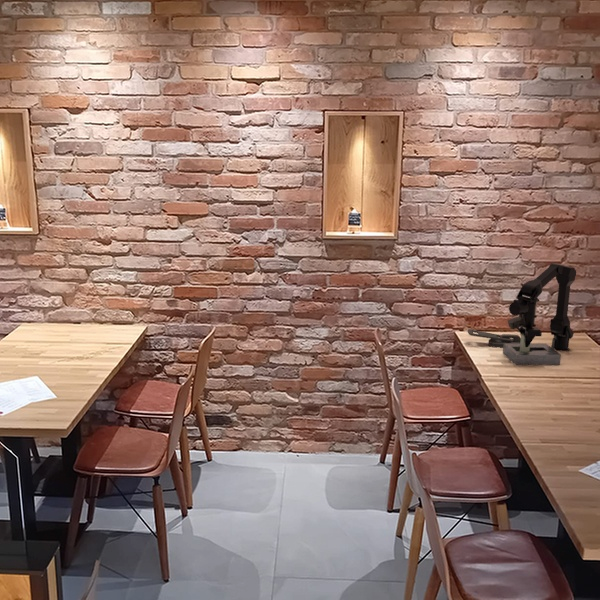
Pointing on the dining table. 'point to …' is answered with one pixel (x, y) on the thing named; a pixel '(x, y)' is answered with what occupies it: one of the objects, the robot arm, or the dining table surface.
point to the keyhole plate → (532, 354)
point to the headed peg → (523, 345)
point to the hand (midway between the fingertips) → (525, 345)
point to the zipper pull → (497, 338)
